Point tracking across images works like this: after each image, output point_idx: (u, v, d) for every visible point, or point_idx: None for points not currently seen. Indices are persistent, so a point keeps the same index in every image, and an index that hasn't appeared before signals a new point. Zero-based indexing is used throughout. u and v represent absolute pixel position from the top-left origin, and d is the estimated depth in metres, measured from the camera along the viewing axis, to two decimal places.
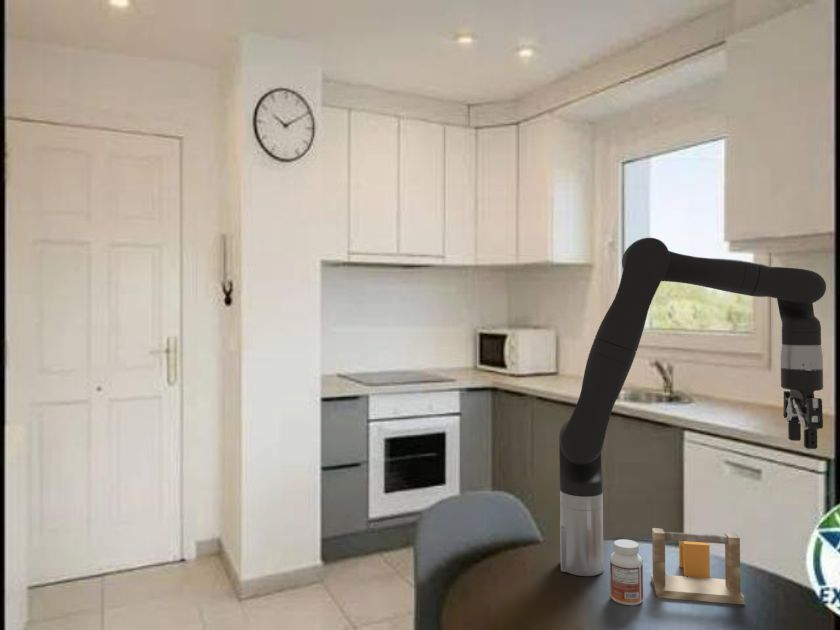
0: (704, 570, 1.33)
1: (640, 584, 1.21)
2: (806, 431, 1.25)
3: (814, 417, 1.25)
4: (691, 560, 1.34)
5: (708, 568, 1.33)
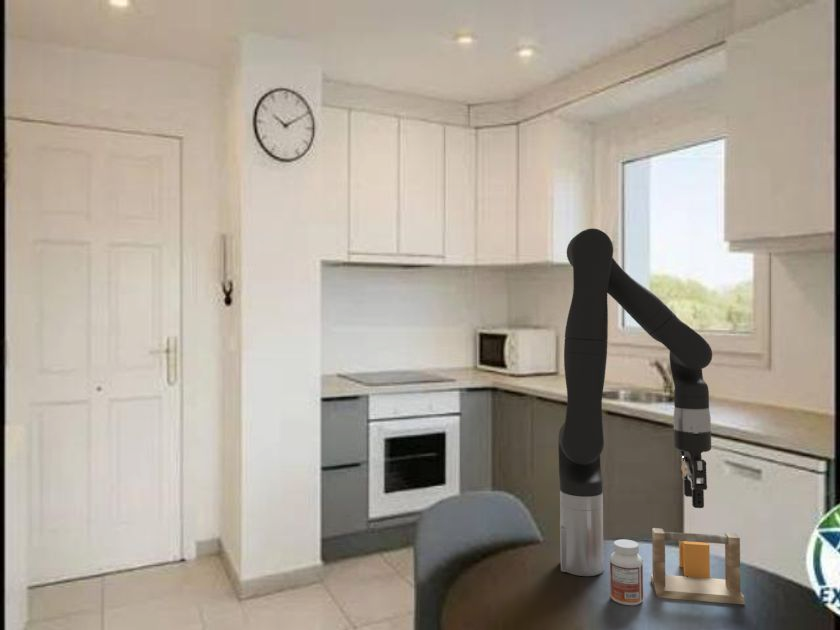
0: (704, 570, 1.33)
1: (640, 584, 1.21)
2: (693, 491, 1.32)
3: (701, 478, 1.32)
4: (691, 560, 1.34)
5: (708, 568, 1.33)
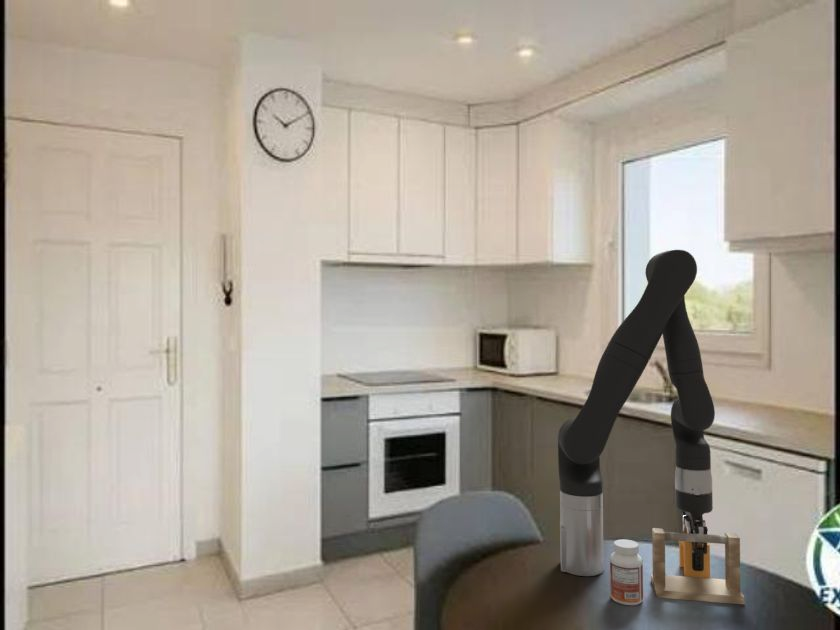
0: (704, 570, 1.33)
1: (640, 584, 1.21)
2: (693, 554, 1.33)
3: None
4: (691, 560, 1.34)
5: (708, 568, 1.33)
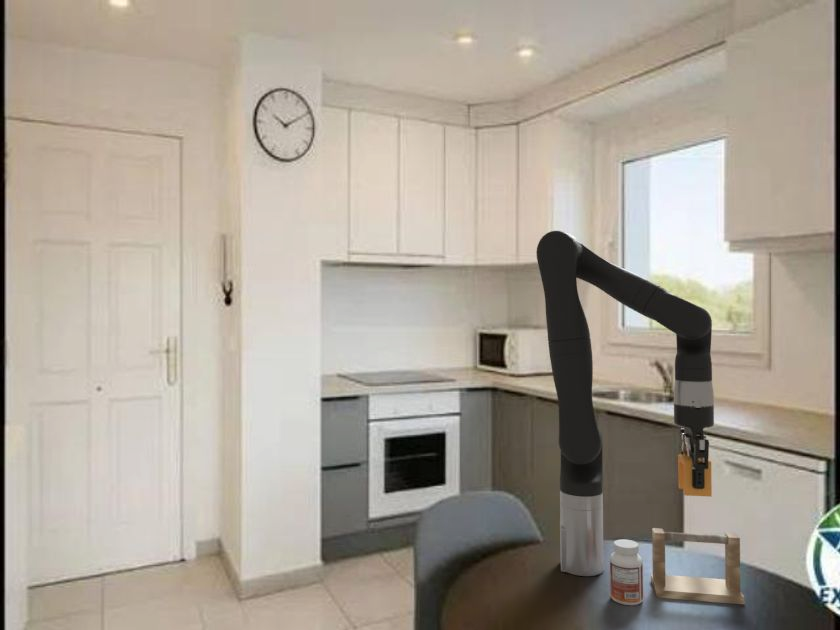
0: (705, 488, 1.25)
1: (640, 584, 1.21)
2: (694, 471, 1.24)
3: None
4: (691, 477, 1.25)
5: (710, 486, 1.24)
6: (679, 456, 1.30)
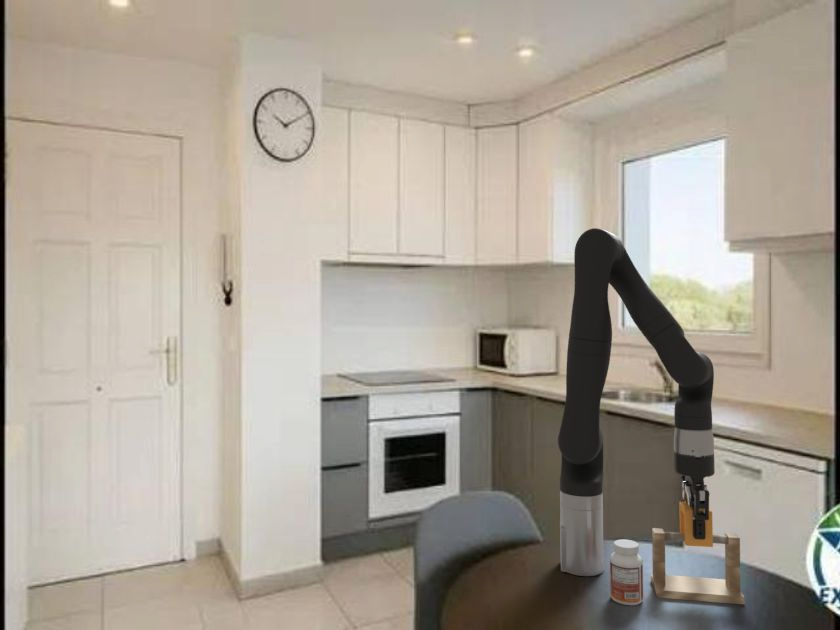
0: (707, 538, 1.23)
1: (640, 584, 1.21)
2: (694, 521, 1.23)
3: None
4: (692, 527, 1.24)
5: (711, 536, 1.23)
6: (680, 504, 1.29)
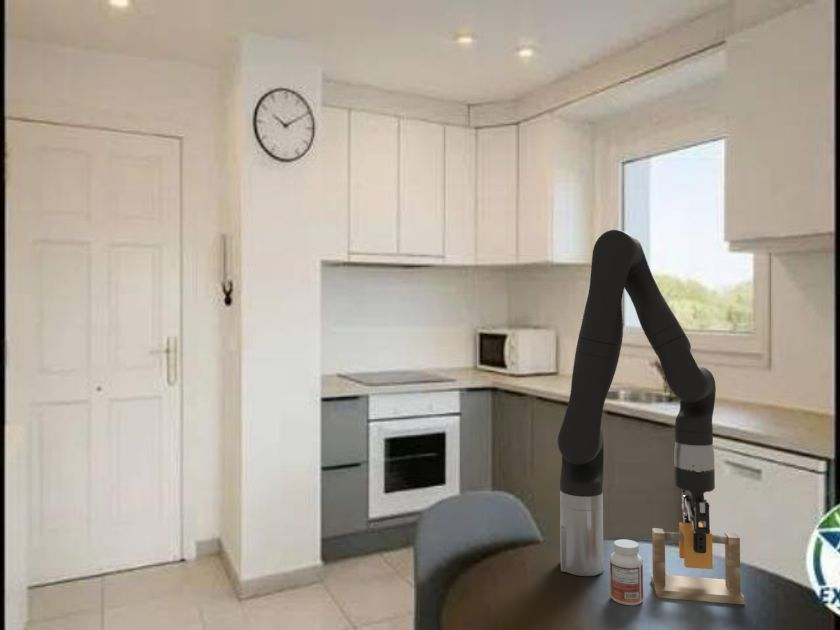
0: (706, 561, 1.23)
1: (640, 584, 1.21)
2: (695, 535, 1.22)
3: (703, 520, 1.22)
4: (692, 549, 1.24)
5: (711, 558, 1.23)
6: (680, 525, 1.28)
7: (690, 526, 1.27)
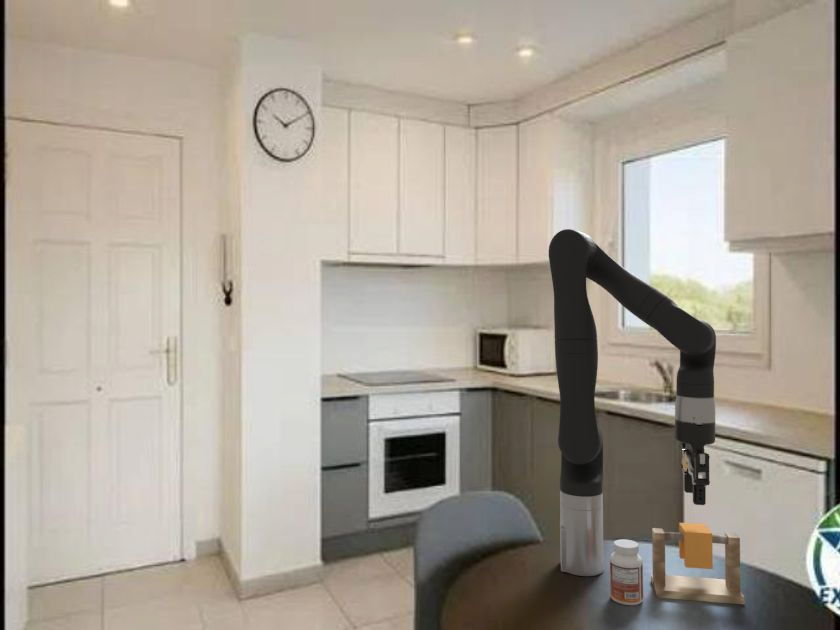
0: (706, 560, 1.23)
1: (640, 584, 1.21)
2: (694, 486, 1.22)
3: (703, 472, 1.22)
4: (692, 549, 1.24)
5: (711, 558, 1.23)
6: (680, 525, 1.28)
7: (690, 526, 1.27)
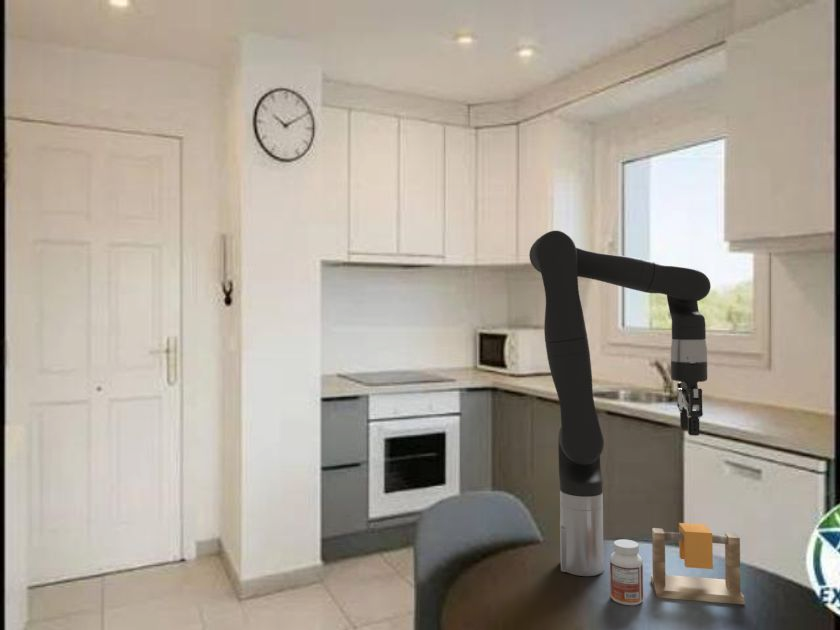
0: (707, 560, 1.23)
1: (640, 584, 1.21)
2: (689, 419, 1.35)
3: (697, 406, 1.36)
4: (692, 549, 1.23)
5: (711, 558, 1.23)
6: (680, 525, 1.29)
7: (690, 526, 1.27)
